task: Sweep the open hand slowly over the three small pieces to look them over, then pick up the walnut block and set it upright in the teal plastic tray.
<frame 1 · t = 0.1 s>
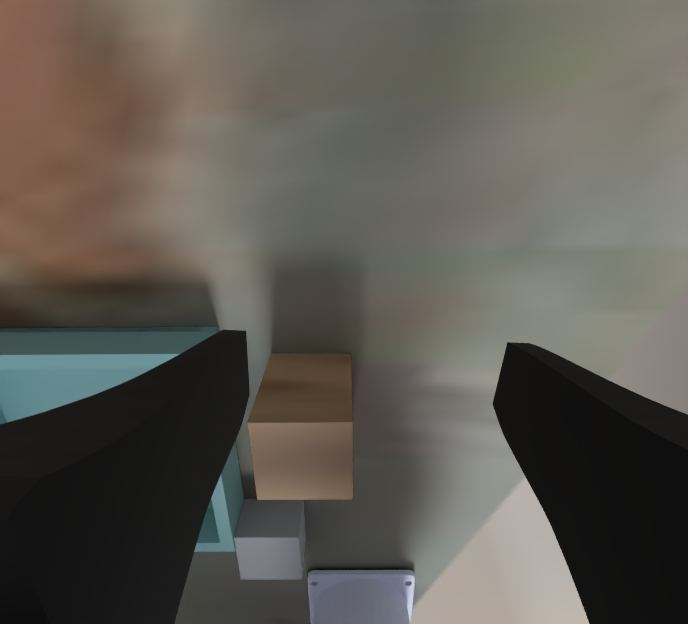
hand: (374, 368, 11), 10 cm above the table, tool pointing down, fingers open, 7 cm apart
tray: (120, 429, 24), on the table
walnut block: (312, 386, 23), on the table
slate block: (276, 517, 28), on the table
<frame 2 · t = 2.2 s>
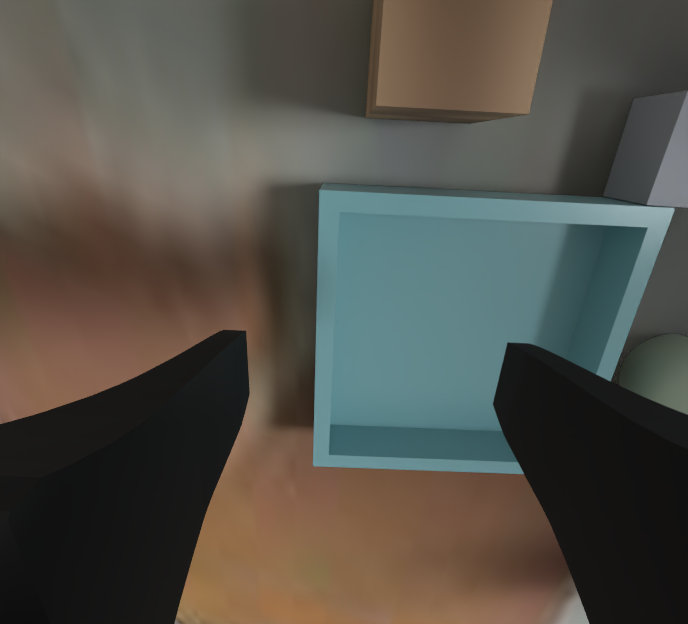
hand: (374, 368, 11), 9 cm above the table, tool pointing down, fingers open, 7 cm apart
tray: (451, 327, 21), on the table
walnut block: (424, 59, 16), on the table
slate block: (659, 152, 18), on the table
sage cylinder: (659, 369, 22), on the table
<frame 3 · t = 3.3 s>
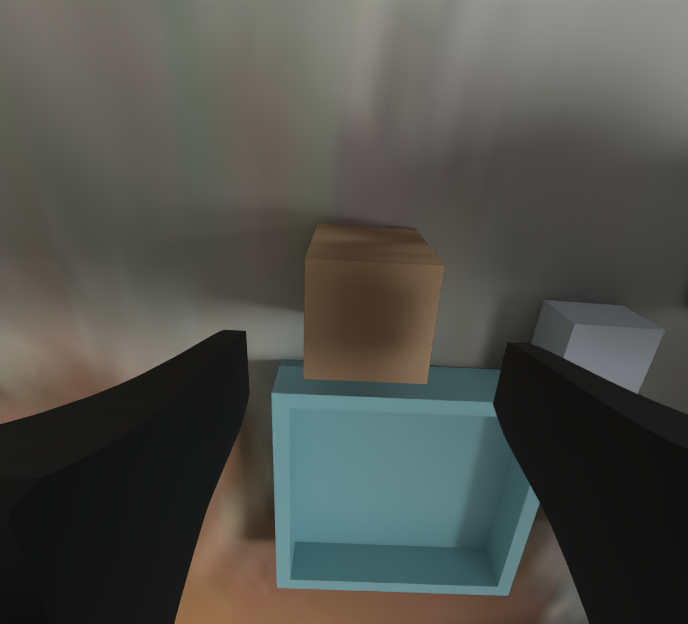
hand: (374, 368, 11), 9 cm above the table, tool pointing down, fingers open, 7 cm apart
tray: (398, 465, 24), on the table
walnut block: (362, 272, 19), on the table
slate block: (569, 336, 20), on the table
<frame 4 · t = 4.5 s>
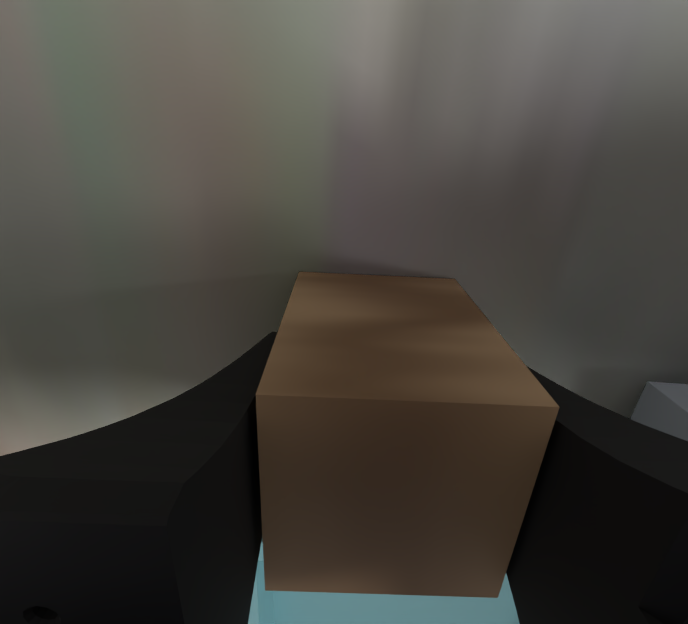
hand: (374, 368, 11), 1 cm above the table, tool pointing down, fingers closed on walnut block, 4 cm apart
tray: (419, 593, 17), on the table
walnut block: (371, 344, 12), on the table, touching gripper
slate block: (677, 431, 14), on the table
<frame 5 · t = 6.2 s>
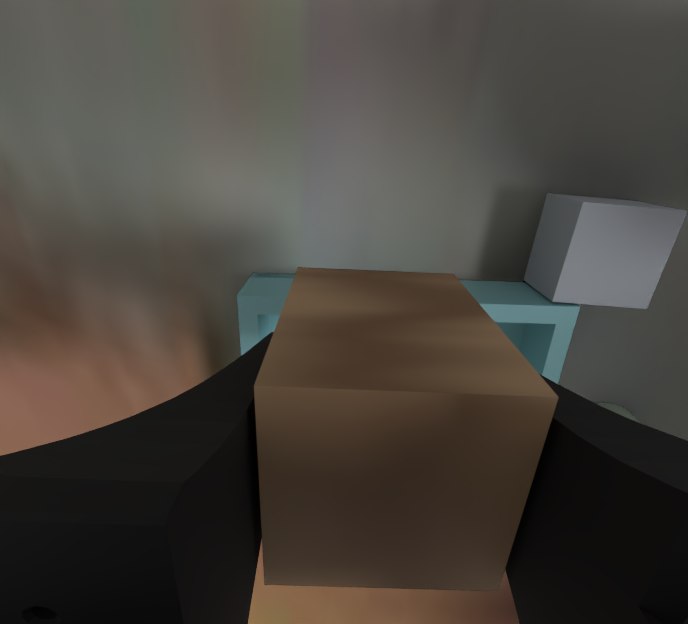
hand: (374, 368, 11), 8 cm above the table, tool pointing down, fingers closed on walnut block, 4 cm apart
tray: (388, 399, 21), on the table
walnut block: (370, 340, 12), point 7 cm above the table, touching gripper
slate block: (575, 241, 18), on the table
when the fingers open (4 cm above the table, at t = 8.0 s): walnut block drops 2 cm, resting on tray.
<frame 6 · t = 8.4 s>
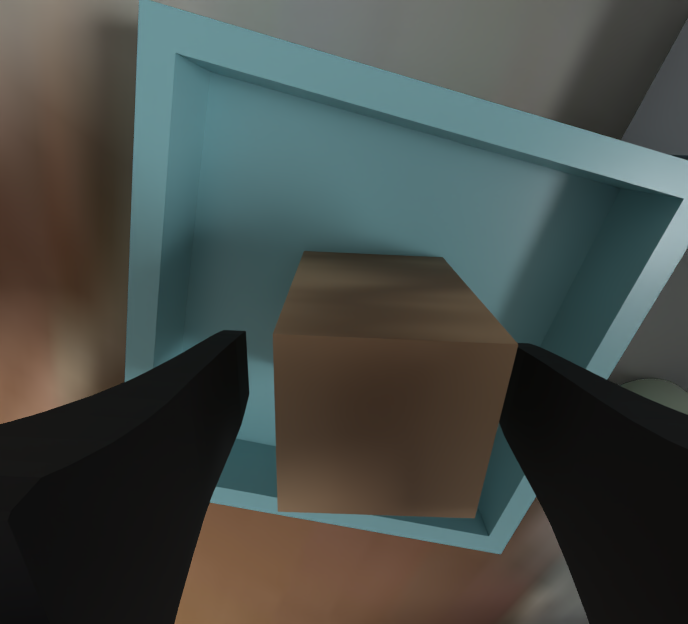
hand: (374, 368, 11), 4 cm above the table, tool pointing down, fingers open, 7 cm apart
tray: (367, 316, 14), on the table
walnut block: (368, 317, 14), point 1 cm above the table, touching tray
sage cylinder: (634, 423, 16), on the table
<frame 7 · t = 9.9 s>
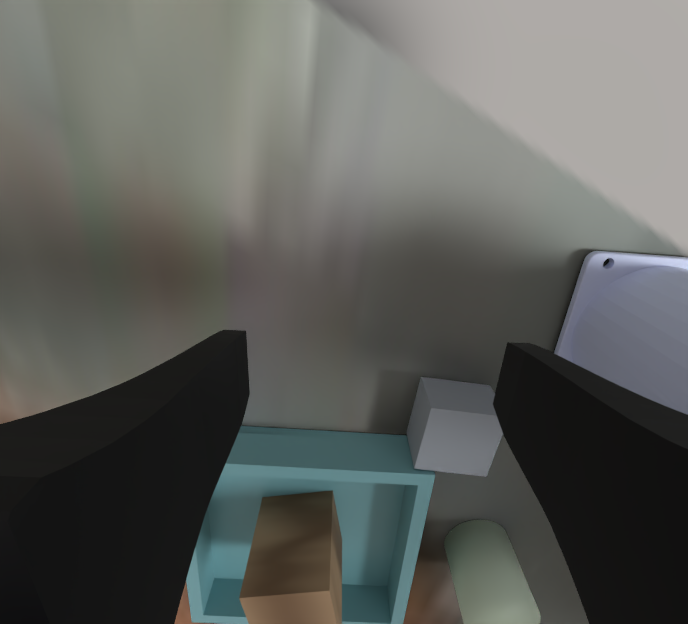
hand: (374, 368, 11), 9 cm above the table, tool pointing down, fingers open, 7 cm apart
tray: (304, 513, 26), on the table
walnut block: (303, 518, 26), point 1 cm above the table, touching tray
slate block: (446, 408, 23), on the table
sage cylinder: (475, 541, 27), on the table
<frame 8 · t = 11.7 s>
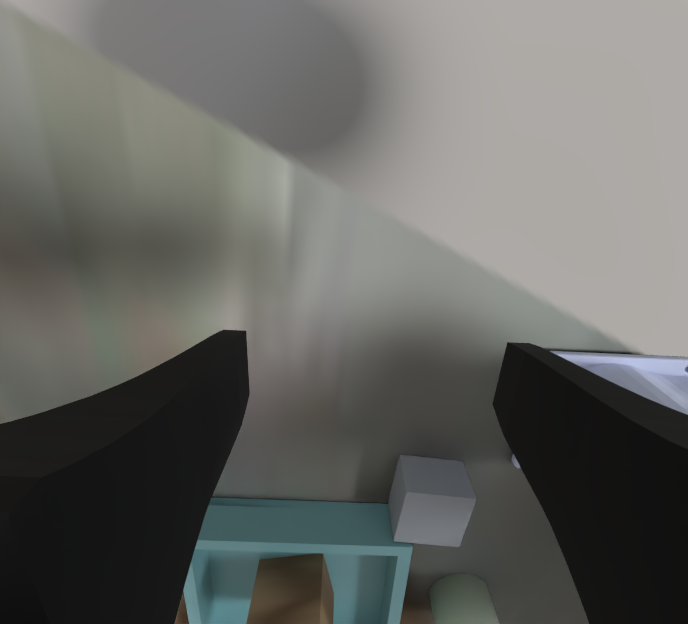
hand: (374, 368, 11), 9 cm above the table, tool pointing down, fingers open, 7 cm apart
tray: (299, 570, 29), on the table
walnut block: (297, 577, 28), point 1 cm above the table, touching tray
slate block: (424, 479, 25), on the table
sage cylinder: (458, 592, 30), on the table
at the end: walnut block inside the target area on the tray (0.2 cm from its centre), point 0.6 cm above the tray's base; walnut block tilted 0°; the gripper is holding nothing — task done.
